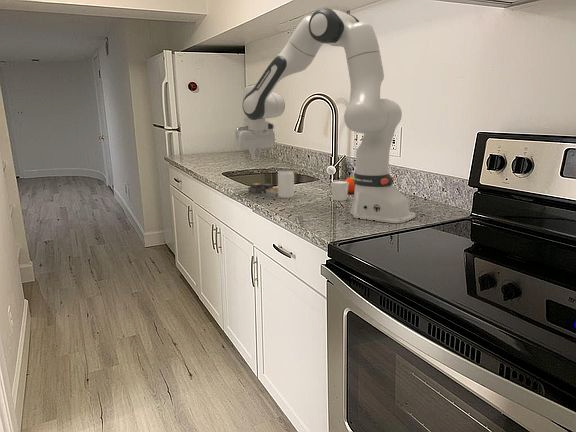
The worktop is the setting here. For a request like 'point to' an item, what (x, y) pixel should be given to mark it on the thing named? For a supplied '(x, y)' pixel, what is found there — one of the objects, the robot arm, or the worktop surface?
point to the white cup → (339, 190)
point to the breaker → (256, 185)
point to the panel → (261, 190)
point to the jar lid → (272, 191)
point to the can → (285, 183)
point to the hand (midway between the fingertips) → (255, 159)
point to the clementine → (350, 184)
